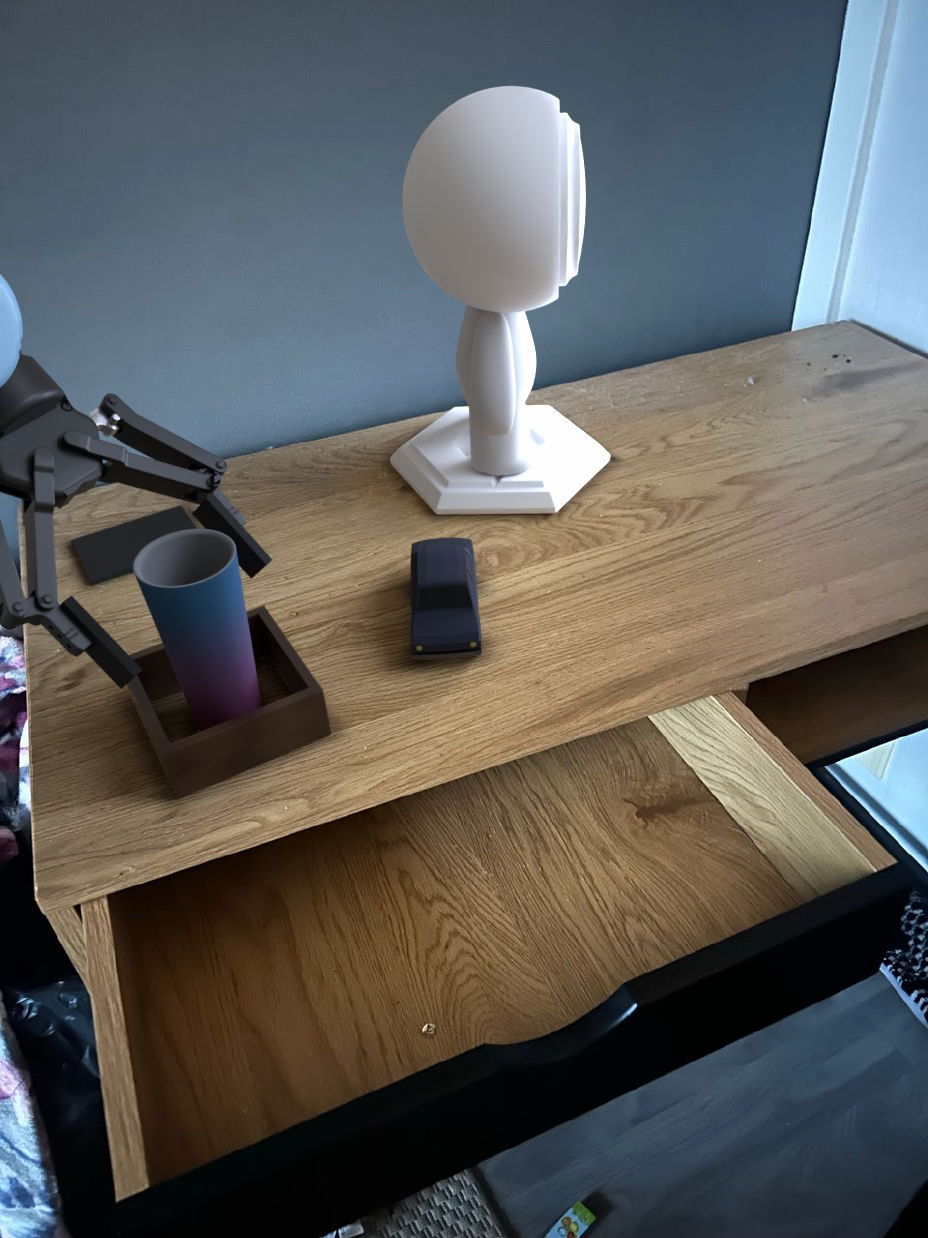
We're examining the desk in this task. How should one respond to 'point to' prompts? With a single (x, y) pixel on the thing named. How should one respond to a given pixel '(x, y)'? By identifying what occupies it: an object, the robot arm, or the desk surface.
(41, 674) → the desk surface
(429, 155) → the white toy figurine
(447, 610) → the toy car
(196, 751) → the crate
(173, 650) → the cup
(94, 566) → the mat
